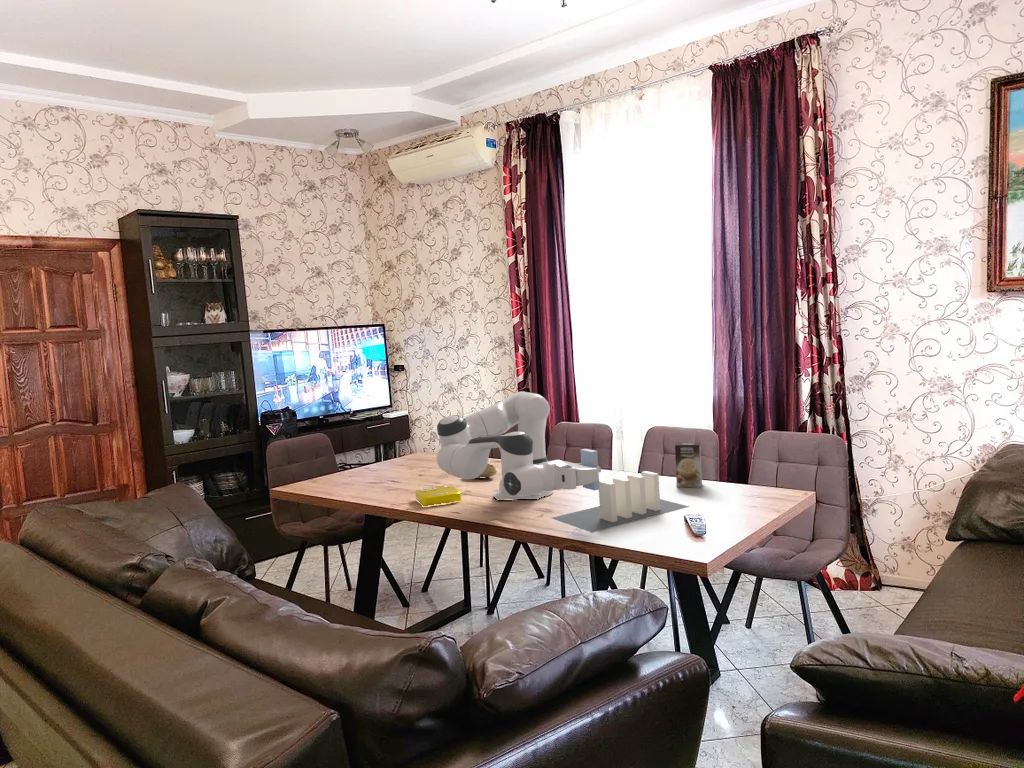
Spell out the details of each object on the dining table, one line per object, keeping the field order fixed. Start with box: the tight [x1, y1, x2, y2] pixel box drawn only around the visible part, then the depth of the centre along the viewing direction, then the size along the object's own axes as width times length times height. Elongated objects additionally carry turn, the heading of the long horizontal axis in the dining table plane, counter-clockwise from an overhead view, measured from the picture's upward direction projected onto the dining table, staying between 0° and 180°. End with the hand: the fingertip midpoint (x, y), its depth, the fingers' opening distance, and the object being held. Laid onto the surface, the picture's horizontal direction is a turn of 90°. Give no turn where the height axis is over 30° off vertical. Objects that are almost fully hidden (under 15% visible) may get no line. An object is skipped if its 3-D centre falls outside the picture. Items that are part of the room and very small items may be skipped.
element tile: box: [415, 484, 462, 506], centre depth 266 cm, size 15×15×5 cm
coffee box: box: [674, 441, 703, 488], centre depth 260 cm, size 9×6×16 cm
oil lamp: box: [477, 463, 497, 478], centre depth 301 cm, size 11×15×8 cm
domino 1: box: [598, 480, 617, 522], centre depth 220 cm, size 2×6×12 cm, turn 30°
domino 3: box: [626, 473, 646, 514], centre depth 226 cm, size 2×6×12 cm, turn 30°
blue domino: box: [579, 448, 600, 491], centre depth 216 cm, size 2×6×12 cm, turn 30°
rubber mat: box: [551, 498, 690, 534], centre depth 228 cm, size 40×22×1 cm, turn 121°
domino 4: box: [640, 470, 661, 511], centre depth 229 cm, size 2×6×12 cm, turn 30°
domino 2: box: [612, 477, 632, 518], centre depth 223 cm, size 2×6×12 cm, turn 30°
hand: (592, 467), depth 217 cm, fingers closed on blue domino, 6 cm apart
